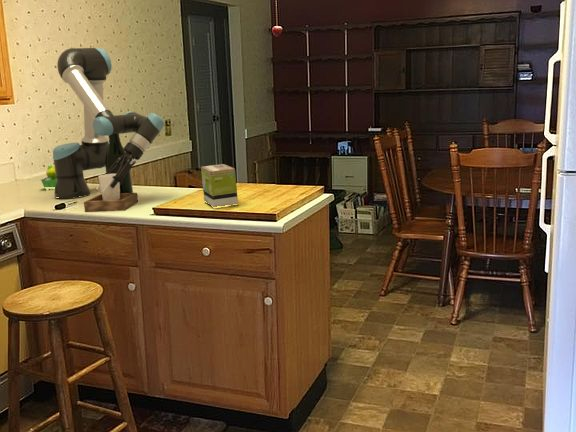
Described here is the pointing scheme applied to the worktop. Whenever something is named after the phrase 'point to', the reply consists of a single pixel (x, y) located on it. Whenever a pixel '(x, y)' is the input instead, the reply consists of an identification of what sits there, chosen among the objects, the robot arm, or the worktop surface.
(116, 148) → the wine bottle
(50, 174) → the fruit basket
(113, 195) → the white cup
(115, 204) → the walnut box
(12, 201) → the worktop surface
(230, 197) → the tea box
